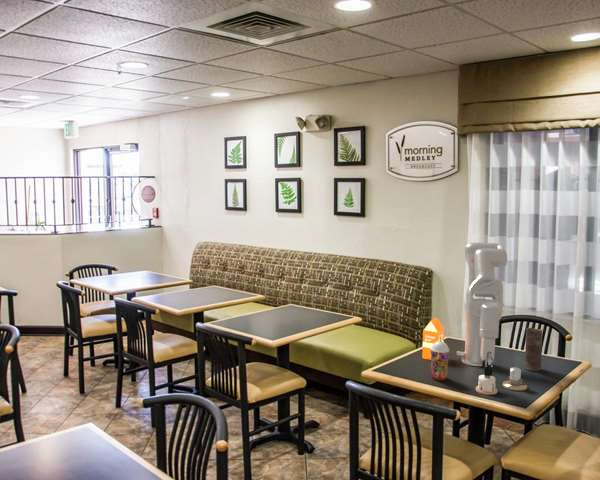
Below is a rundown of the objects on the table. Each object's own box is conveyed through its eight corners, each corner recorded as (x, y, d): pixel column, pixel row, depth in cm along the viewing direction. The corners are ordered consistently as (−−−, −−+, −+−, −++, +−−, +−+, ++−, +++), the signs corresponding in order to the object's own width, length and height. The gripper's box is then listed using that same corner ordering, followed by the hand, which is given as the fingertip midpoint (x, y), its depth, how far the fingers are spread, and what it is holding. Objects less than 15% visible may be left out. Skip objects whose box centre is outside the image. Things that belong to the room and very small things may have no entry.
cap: (477, 385, 243) (478, 371, 243) (494, 386, 242) (494, 372, 241) (478, 390, 237) (479, 376, 236) (495, 392, 235) (496, 378, 235)
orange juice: (422, 358, 282) (423, 319, 280) (428, 353, 290) (430, 316, 288) (436, 361, 278) (438, 321, 276) (443, 356, 285) (444, 318, 283)
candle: (520, 367, 269) (522, 327, 267) (532, 365, 272) (534, 325, 270) (533, 372, 262) (535, 331, 260) (544, 370, 265) (547, 329, 263)
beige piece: (500, 387, 243) (500, 369, 242) (505, 380, 251) (506, 363, 250) (524, 392, 237) (525, 374, 236) (529, 385, 246) (530, 367, 245)
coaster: (472, 391, 238) (472, 389, 238) (478, 385, 245) (478, 383, 245) (494, 396, 233) (494, 394, 233) (499, 389, 240) (499, 387, 240)
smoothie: (438, 382, 248) (439, 339, 246) (425, 376, 255) (427, 334, 253) (452, 379, 252) (454, 336, 250) (439, 374, 259) (441, 332, 257)
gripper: (478, 326, 246) (476, 363, 248) (481, 338, 229) (479, 378, 232) (496, 327, 244) (493, 364, 247) (500, 339, 227) (498, 379, 230)
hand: (486, 371), depth 239 cm, fingers open, 9 cm apart
